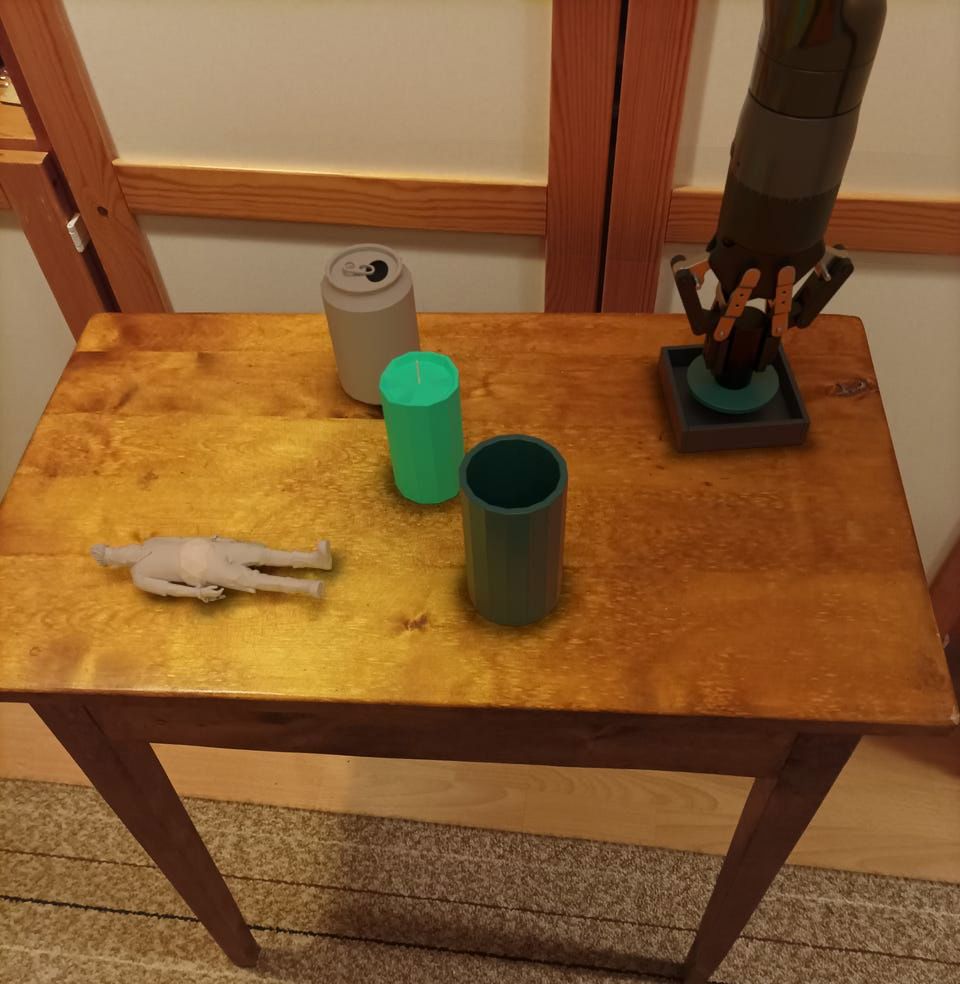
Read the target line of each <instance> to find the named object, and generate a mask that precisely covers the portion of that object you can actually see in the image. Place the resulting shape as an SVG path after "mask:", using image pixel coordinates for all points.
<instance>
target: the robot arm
mask: <svg viewBox="0 0 960 984" xmlns="http://www.w3.org/2000/svg"><path fill="white" fill-rule="evenodd" d="M887 14H888V0H762V20H761V25H760V28H759V29H760V31H759V33H758V40H757V45H756V50H755V55H754V60H753V65H752V70H751V74H750V80H749V84H748V88H747V92H746V96H745V99H744V101H743V104H742V107H741V110H740V112H739V116H738V120H737V125H736V129H735V132H734V138H733V140H732V141H731V145H730V151H729V157H730V158H729V163H728V169H727V174H726V179H725V184H724V190H723V193H722V199H721V204H720V210H719V214H718V218H717V226H716V231H715V233H714V235H713V237H712V238H711V239H710V240H709V242H708V243H707V245H706V248H705V251H704V252H701V253H699V254H696V255H694V256H692V257H689V258H686V256H685V255H683V254H677V255H675V256H673V257H672V258H671V259H670V262H669V265H670V269H671V272H672V275H673V279H674V282H675V286H676V289H677V292H678V294H679V297H680V300H681V303H682V306H683V308H684V311H685V315H686V317H687V320H688V323H689V325H690V326H689V327H690V329H691V332H692V334H693V335H694V336H697V337H700V336H703V335H705V337H704V340H703V341H704V342H703V344H704V346H703V351H702V355H703V359H704V362H705V365H706V369H710V372H711V375H712V376H713V375H721V374H722V370H723V366H724V362H725V357H726V353H727V349H728V345H729V341H730V340H729V337H728V336H729V334H730V332H731V329H732V327H733V325H734V323H735V320H736V318H739V317H740V316H741V314H742V312H743V310H744V307H745V306H747V302H750V301H753V300H757V299H761V300H764V310H763V312H764V313H765V314H766V316H767V324H766V328H765V331H764V335H763V339H762V342H761V346H760V349H759V353H758V357H757V360H756V364H755V368H754V371H755V372H756V373H757V372H765V370H766V367H767V365H771V364H772V363H773V362H774V360H775V357H776V354H777V350H778V347H779V344H780V340H781V341H782V336H784V335H785V334H786V333H787V332H788V330H790V329H792V328H797V329H799V330H803V329H807V328H808V327H809V326H811V325H812V324H813V322H814V321H815V320H816V318H817V317H818V316H819V315H820V314H821V312H822V311H823V309H824V308H825V307H826V306H827V305H828V303H829V302H830V301H831V300H832V299H833V297H834V296H835V295H836V294H837V292H838V291H839V290H840V289H841V288H842V286H843V285H844V284H845V283H846V281H847V280H848V279H849V278H850V277H851V276H852V274H853V273H854V271H855V266H854V263H853V262H852V258H851V257H850V254H849V252H848V251H847V249H846V247H845V245H843V243H837V244H833V246H829V245H827V244H826V242H825V238H824V236H825V235H826V233H827V230H828V227H829V224H830V221H831V218H832V214H833V211H834V207H835V204H836V201H837V198H838V195H839V192H840V189H841V185H842V182H843V179H844V175H845V171H846V168H847V165H848V162H849V159H850V156H851V152H852V149H853V146H854V143H855V139H856V136H857V130H858V126H859V120H860V119H859V118H860V113H861V107H862V103H863V99H864V97H865V93H866V90H867V86H868V83H869V80H870V76H871V73H872V70H873V68H874V67H873V66H874V64H875V61H876V57H877V54H878V50H879V46H880V43H881V39H882V35H883V31H884V28H885V24H886V20H887ZM812 269H813V270H812ZM709 270H711V271H712V273H713V275H714V276H715V277H716V279H717V281H718V282H717V284H716V287H715V296H714V300H713V301H712V304H711V306H710V308H709V309H707V308H703V306H702V303H701V300H700V297H699V294H698V291H700V290H701V289H702V286H703V285H704V283H705V275H706V273H707V272H708V271H709ZM810 271H812V272H811V273H810V274H809V276H808V277H807V278H806V280H804V282H803V283H802V284H801V286H800V287H799V289H798V290H796V293H795V294H794V295H793V291H794V286H796V285H797V283H799V282H800V281H801V280H802V279H803V278H804V277H805V276H806V275H807V274H808V273H809V272H810Z"/></svg>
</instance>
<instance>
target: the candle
mask: <svg viewBox="0 0 960 984" xmlns="http://www.w3.org/2000/svg"><path fill="white" fill-rule="evenodd" d="M379 390H380V396H381V401H382V405H381V406H382V407H381V408H382V413H383V419H384V425H385V431H386V436H387V442H388V443H387V444H388V446H389V448H388V449H389V455H390V460H391V466H392V471H393V478H394V483H395V486H396V488H397V489H398V491H399V492H400V493H401V495H402V496H403V498H405V499H408V500H410V501H412V502H415V503H418V504H420V505H422V504H423V505H426V504H427V505H429V504H433V505H434V504H441V503H443V502H446V501H447V500H450V499H452V498H454V497H456V496H457V495H458V494H459V493H460V485H459V467H460V465H461V463H462V461H463V459H464V457H465V455H466V453H465V439H464V427H463V425H464V423H463V412H462V411H463V410H462V401H461V385H460V372H459V369H458V368H457V367H456V365H455V364H454V362H453V361H452V359H451V358H450V357H449V355H445V354H441V353H438V352H434V351H421V352H408V353H406V354H404V355H402V356H399V357H397V358H395V359H393V360H392V361H391V362H390V363H389V365H388V366H387V368H386V369H385V371H384V372H383V374H382V375H381V379H380V384H379Z"/></svg>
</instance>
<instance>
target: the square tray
mask: <svg viewBox="0 0 960 984" xmlns="http://www.w3.org/2000/svg"><path fill="white" fill-rule="evenodd" d="M703 346H704V343H695V344H693V343H691V344H680V345H667V346H666V345H665V346H663V345H662V346H661V347H660V351H659V356H658V362H657V372H658V377H659V381H660V385H661V388H662V389H661V390H662V393H663V397H664V401H665V406H666V409H667V413H668V417H669V423H670V425H671V430H672V434H673V437H674V442H675V445H676V449H677V453H678V454H683V453H684V454H685V453H697V452H710V451H711V452H713V451H725V450H727V451H728V450H738V449H739V450H742V449H754V448H768V447H782V446H796V445H798V446H799V445H804V442H805V440H806V437H807V435H808V433H809V429H810V426H811V423H812V420H811V419H810V418H811V417H810V416H809V413H808V410H807V408H806V404H805V402H804V400H803V397H802V393H801V391H800V389H799V386H798V382H797V380H796V378H795V375H794V373H793V369H792V367H791V364H790V361H789V360H788V355H787V354H786V351H785V348H784V345H783V343H782V339H781V340H780V344H779V347H778V350H777V354H776V357H775V360H774V362H773V363H772V364H771V365H772V366H773V368H774V369H775V371H776V373H777V375H778V379H779V387H778V390H777V393H776V396H775V397H774V399H773V400H772V401H771V402H770V403H769V404H768V405H767V406H765V407H763V408H762V409H759V410H757V411H754V412H750V413H743V414H730V413H723V412H719V411H716V410H713V409H710V408H708V407H706V406H704V405H703V404H701V403H700V402H698V401H697V400H696V399H695V398H694V397H693V396H692V394H691V393H690V391H689V390H688V387H687V383H686V376H687V371H688V368H689V366H690V364H691V363H692V362H693V361H694V360H695V359H696V358H697V357H698V356H700V355H702V351H703Z"/></svg>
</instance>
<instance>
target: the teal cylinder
mask: <svg viewBox="0 0 960 984" xmlns="http://www.w3.org/2000/svg"><path fill="white" fill-rule="evenodd" d="M459 485H460V491H459V496H460V508H461V509H460V510H461V519H462V532H463V545H464V559H465V568H466V579H467V580H466V581H467V593H468V597H469V600H470V602H471V605H472V606H473V607H474V609H475V610H476V612H478V614H480V615H481V616H482V617H484V618H485V619H487V620H488V621H490V622H493V623H496V624H498V625H503V626H509V627H519V626H527V625H530V624H533V623H536V622H538V621H540V620H542V619H543V618H545V617H547V615H549V614H550V613H551V612H552V610H554V609H555V607H556V605H557V604H558V601H559V599H560V596H561V591H562V587H563V585H562V584H563V572H564V571H563V570H564V553H565V537H566V521H567V520H566V519H567V506H568V505H567V503H568V490H569V489H568V488H569V473H568V466H567V461H566V459H565V458H564V457H563V455H562V454H561V453H560V452H559V450H558V449H557V448H556V447H555V446H553V445H552V444H550V443H548V442H547V441H545V440H544V439H542V438H540V437H536V436H532V435H528V434H522V433H509V434H499V435H495V436H492V437H490V438H487V439H485V440H482V441H480V442H478V443H477V444H476V445H474V447H473V448H471V449H470V450H469V451H468V452H466V453H465V457H464V459H463V461H462V463H461V465H460V467H459Z"/></svg>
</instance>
